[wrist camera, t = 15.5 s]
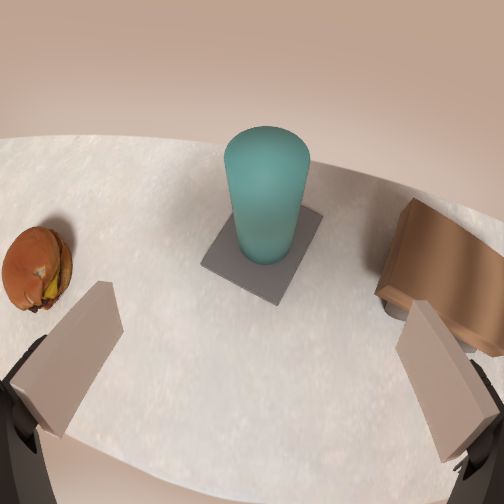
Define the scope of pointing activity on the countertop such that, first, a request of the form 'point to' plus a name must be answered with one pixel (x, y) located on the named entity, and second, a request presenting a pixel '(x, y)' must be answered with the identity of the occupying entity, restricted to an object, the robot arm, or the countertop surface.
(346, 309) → the countertop surface
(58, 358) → the robot arm
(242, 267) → the pad
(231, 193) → the roller
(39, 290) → the burger
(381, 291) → the slab
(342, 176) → the countertop surface
